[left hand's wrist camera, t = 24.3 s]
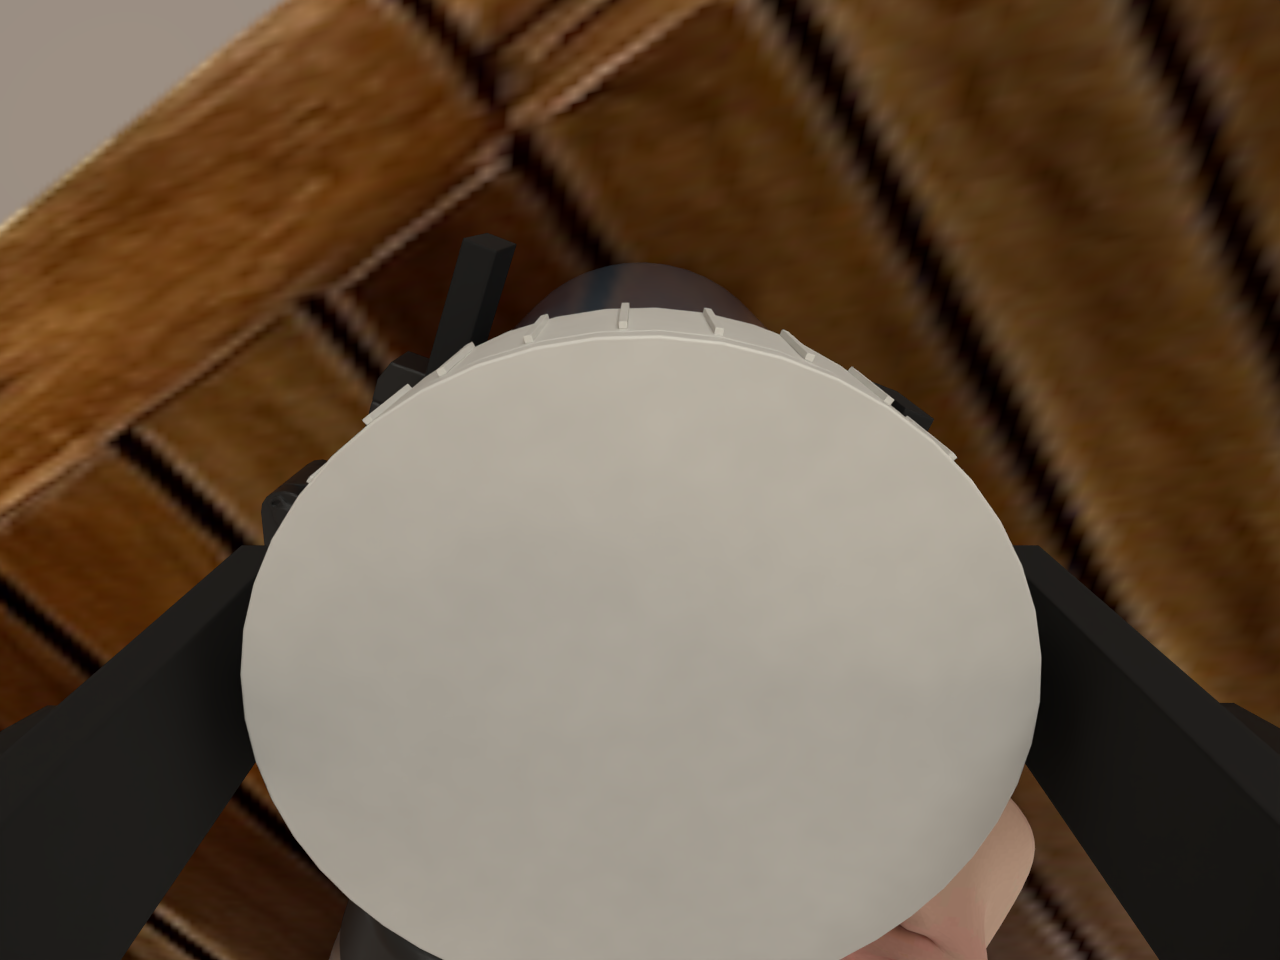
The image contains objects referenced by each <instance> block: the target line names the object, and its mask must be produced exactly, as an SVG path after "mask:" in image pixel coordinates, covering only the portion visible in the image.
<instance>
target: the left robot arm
mask: <svg viewBox="0 0 1280 960" xmlns="http://www.w3.org/2000/svg"><path fill="white" fill-rule="evenodd" d="M268 547H269V546H241V547H239V548H238V549H237V550H236V551H235V552H234V553H233V554H231V555H230V556H229V557H228V558H227V559H226V560H224V561H223V562H222V563H221V564H220V565H219V566H218V567H216V568H215V569H214V570H213V571H212V572H211V573H209V574H208V575H207V576H206V577H205V578H204V579H203V580H201V581H200V582H199V583H198V584H197V585H196V586H195V587H193V588H192V589H191V590H190V591H189V592H188V593H186V594H185V595H184V596H183V597H182V598H181V599H180V600H178V601H177V602H176V603H175V604H174V605H173V606H172V607H170V608H169V609H168V610H167V611H166V612H165V613H163V614H162V615H161V616H160V617H159V618H158V619H157V620H155V621H154V622H153V623H152V624H151V625H150V626H149V627H147V628H146V629H145V630H144V631H143V632H142V633H140V634H139V635H138V636H137V637H136V638H135V639H134V640H132V641H131V642H130V643H129V644H128V645H127V646H126V647H124V648H123V649H122V650H121V651H120V652H119V653H117V654H116V655H115V656H114V657H113V658H112V659H111V660H109V661H108V662H107V663H106V664H105V665H104V666H103V667H101V668H100V669H99V670H98V671H97V672H96V673H94V674H93V675H92V676H91V677H90V678H89V679H88V680H86V681H85V682H84V683H83V684H82V685H81V686H80V687H78V688H77V689H76V690H75V691H74V692H73V693H71V694H70V695H69V696H68V697H67V698H66V699H65V700H63V701H62V702H61V703H60V704H59V705H58V706H46V707H44V708H42V709H40V710H38V711H37V712H35V713H33V714H31V715H29V716H28V717H26V718H24V719H22V720H20V721H18V722H17V723H15V724H13V725H11V726H9V727H8V728H6V729H4V730H2V731H1V732H0V960H121V958H122V957H123V955H124V954H125V953H126V951H127V950H128V948H129V947H130V945H131V944H132V942H133V941H134V939H135V938H136V936H137V935H138V934H139V932H140V931H141V929H142V928H143V926H144V925H145V923H146V922H147V920H148V919H149V917H150V916H151V914H152V913H153V912H154V910H155V909H156V907H157V906H158V904H159V903H160V901H161V900H162V898H163V897H164V895H165V894H166V893H167V891H168V890H169V888H170V887H171V885H172V884H173V882H174V881H175V879H176V878H177V876H178V875H179V873H180V872H181V871H182V869H183V868H184V866H185V865H186V863H187V862H188V860H189V859H190V857H191V856H192V854H193V853H194V852H195V850H196V849H197V847H198V846H199V844H200V843H201V841H202V840H203V838H204V837H205V835H206V834H207V832H208V831H209V830H210V828H211V827H212V825H213V824H214V822H215V821H216V819H217V818H218V816H219V815H220V813H221V812H222V811H223V809H224V808H225V806H226V805H227V803H228V802H229V800H230V799H231V797H232V796H233V794H234V793H235V791H236V790H237V789H238V787H239V786H240V784H241V783H242V781H243V780H244V778H245V777H246V775H247V774H248V772H249V771H250V770H251V768H252V767H253V765H254V764H255V762H256V761H255V757H254V753H253V749H252V745H251V741H250V737H249V733H248V730H247V726H246V722H245V717H244V706H243V696H242V686H241V675H240V674H241V659H242V643H243V628H244V624H245V620H246V615H247V611H248V607H249V602H250V598H251V594H252V589H253V585H254V582H255V579H256V577H257V574H258V572H259V569H260V567H261V565H262V562H263V560H264V557H265V555H266V552H267V550H268ZM1013 548H1014V550H1015V552H1016V554H1017V556H1018V558H1019V560H1020V562H1021V564H1022V567H1023V570H1024V574H1025V577H1026V580H1027V584H1028V587H1029V591H1030V594H1031V597H1032V601H1033V604H1034V607H1035V611H1036V619H1037V627H1038V634H1039V642H1040V650H1041V682H1040V703H1039V708H1038V713H1037V719H1036V724H1035V729H1034V734H1033V739H1032V744H1031V747H1030V750H1029V753H1028V756H1027V758H1026V761H1025V764H1026V765H1027V767H1028V768H1029V770H1030V771H1031V772H1032V774H1033V775H1034V777H1035V778H1036V780H1037V781H1038V783H1039V784H1040V786H1041V787H1042V789H1043V790H1044V791H1045V793H1046V794H1047V796H1048V797H1049V799H1050V800H1051V802H1052V803H1053V805H1054V806H1055V808H1056V809H1057V811H1058V812H1059V813H1060V815H1061V816H1062V818H1063V819H1064V821H1065V822H1066V824H1067V825H1068V827H1069V828H1070V830H1071V831H1072V832H1073V834H1074V835H1075V837H1076V838H1077V840H1078V841H1079V843H1080V844H1081V846H1082V847H1083V849H1084V850H1085V852H1086V853H1087V854H1088V856H1089V857H1090V859H1091V860H1092V862H1093V863H1094V865H1095V866H1096V868H1097V869H1098V871H1099V872H1100V873H1101V875H1102V876H1103V878H1104V879H1105V881H1106V882H1107V884H1108V885H1109V887H1110V888H1111V890H1112V891H1113V893H1114V894H1115V895H1116V897H1117V898H1118V900H1119V901H1120V903H1121V904H1122V906H1123V907H1124V909H1125V910H1126V912H1127V913H1128V914H1129V916H1130V917H1131V919H1132V920H1133V922H1134V923H1135V925H1136V926H1137V928H1138V929H1139V931H1140V932H1141V934H1142V935H1143V936H1144V938H1145V939H1146V941H1147V942H1148V944H1149V945H1150V947H1151V948H1152V950H1153V951H1154V953H1155V954H1156V955H1157V957H1158V958H1159V960H1280V728H1278V727H1276V726H1274V725H1273V724H1271V723H1269V722H1267V721H1265V720H1264V719H1262V718H1260V717H1258V716H1256V715H1255V714H1253V713H1251V712H1249V711H1247V710H1245V709H1244V708H1242V707H1240V706H1238V705H1236V704H1235V703H1219V702H1218V701H1217V700H1215V699H1214V698H1213V697H1212V696H1211V695H1210V694H1209V693H1207V692H1206V691H1205V690H1204V689H1203V688H1202V687H1200V686H1199V685H1198V684H1197V683H1196V682H1195V681H1194V680H1192V679H1191V678H1190V677H1189V676H1188V675H1187V674H1186V673H1184V672H1183V671H1182V670H1181V669H1180V668H1179V667H1177V666H1176V665H1175V664H1174V663H1173V662H1172V661H1171V660H1169V659H1168V658H1167V657H1166V656H1165V655H1164V654H1163V653H1161V652H1160V651H1159V650H1158V649H1157V648H1156V647H1154V646H1153V645H1152V644H1151V643H1150V642H1149V641H1148V640H1146V639H1145V638H1144V637H1143V636H1142V635H1141V634H1140V633H1138V632H1137V631H1136V630H1135V629H1134V628H1133V627H1131V626H1130V625H1129V624H1128V623H1127V622H1126V621H1125V620H1123V619H1122V618H1121V617H1120V616H1119V615H1118V614H1117V613H1115V612H1114V611H1113V610H1112V609H1111V608H1110V607H1108V606H1107V605H1106V604H1105V603H1104V602H1103V601H1102V600H1100V599H1099V598H1098V597H1097V596H1096V595H1095V594H1094V593H1092V592H1091V591H1090V590H1089V589H1088V588H1087V587H1085V586H1084V585H1083V584H1082V583H1081V582H1080V581H1079V580H1077V579H1076V578H1075V577H1074V576H1073V575H1072V574H1070V573H1069V572H1068V571H1067V570H1066V569H1065V568H1064V567H1062V566H1061V565H1060V564H1059V563H1058V562H1057V561H1056V560H1054V559H1053V558H1052V557H1051V556H1050V555H1049V554H1047V553H1046V552H1045V551H1044V550H1043V549H1042V548H1041V547H1039V546H1013Z"/></svg>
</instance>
